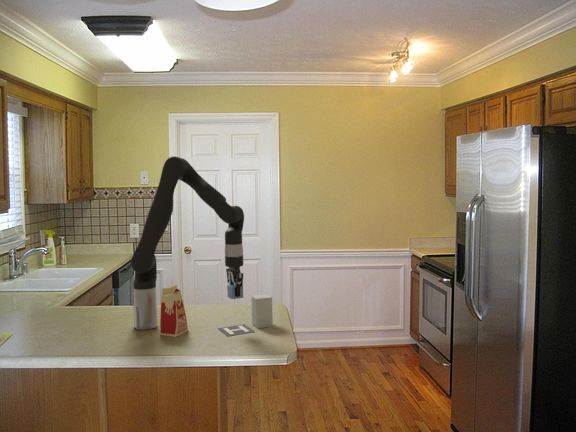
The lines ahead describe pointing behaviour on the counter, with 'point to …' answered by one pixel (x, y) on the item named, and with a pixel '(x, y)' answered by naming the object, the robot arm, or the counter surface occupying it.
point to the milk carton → (172, 313)
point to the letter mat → (236, 330)
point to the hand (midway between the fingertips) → (235, 295)
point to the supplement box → (262, 311)
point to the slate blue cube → (232, 292)
